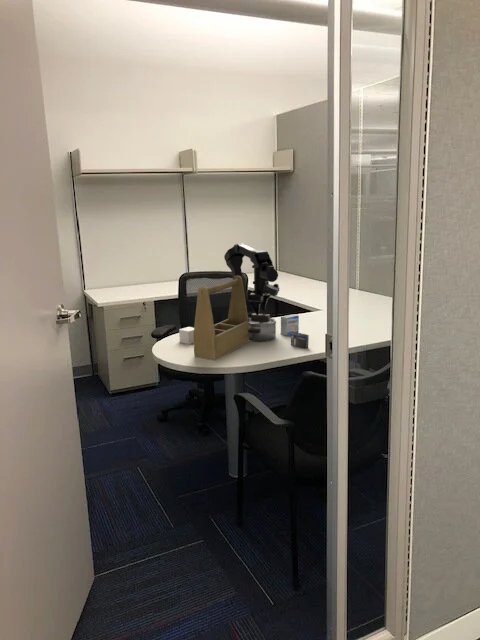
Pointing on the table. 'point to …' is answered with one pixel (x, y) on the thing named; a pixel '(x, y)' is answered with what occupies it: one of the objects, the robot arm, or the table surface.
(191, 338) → the white cube
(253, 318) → the lid
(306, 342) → the mini dv tape
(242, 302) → the caddy
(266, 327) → the pot
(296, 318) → the medicine box
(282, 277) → the table surface
